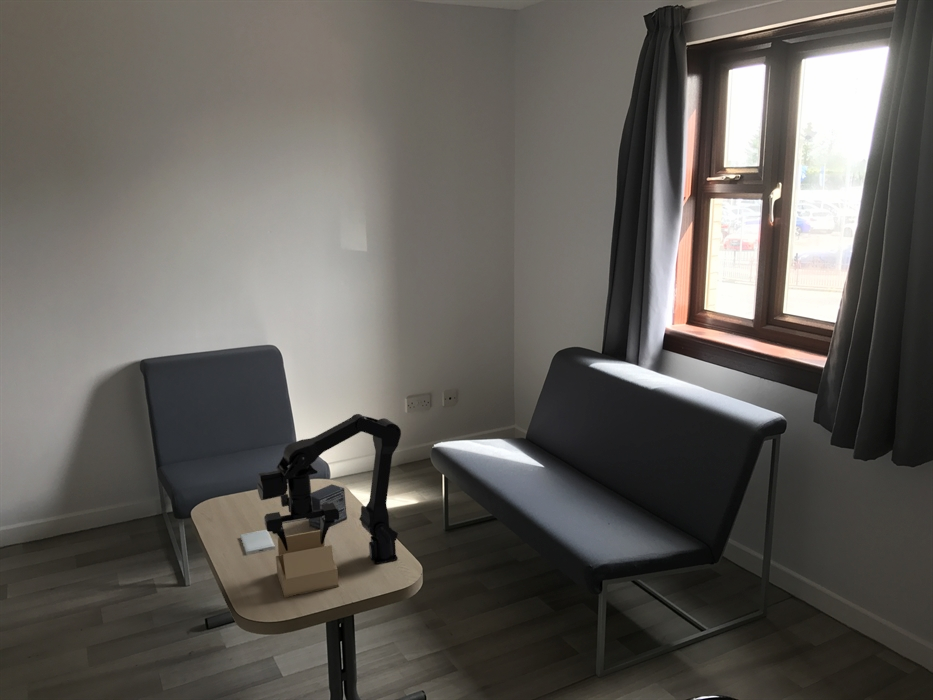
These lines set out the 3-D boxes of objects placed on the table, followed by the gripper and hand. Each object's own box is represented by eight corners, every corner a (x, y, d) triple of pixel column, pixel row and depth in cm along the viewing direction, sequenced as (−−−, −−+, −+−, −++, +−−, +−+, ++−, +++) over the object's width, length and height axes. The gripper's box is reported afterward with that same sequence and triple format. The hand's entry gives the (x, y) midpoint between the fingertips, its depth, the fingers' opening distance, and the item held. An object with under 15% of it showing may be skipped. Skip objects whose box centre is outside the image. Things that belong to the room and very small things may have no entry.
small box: (334, 514, 249) (331, 483, 247) (347, 519, 245) (345, 487, 243) (308, 525, 241) (305, 493, 239) (321, 531, 237) (319, 498, 235)
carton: (328, 563, 217) (327, 546, 216) (338, 586, 204) (337, 568, 203) (277, 573, 212) (275, 556, 211) (284, 597, 199) (282, 579, 198)
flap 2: (285, 578, 198) (286, 579, 198) (282, 554, 199) (283, 554, 199) (334, 569, 202) (334, 569, 202) (331, 545, 203) (331, 545, 203)
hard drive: (240, 534, 234) (246, 551, 223) (267, 529, 237) (275, 545, 226) (240, 539, 234) (246, 556, 223) (268, 534, 238) (275, 550, 226)
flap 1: (324, 546, 215) (324, 545, 216) (324, 530, 212) (324, 529, 212) (278, 555, 211) (278, 554, 211) (277, 538, 208) (277, 537, 208)
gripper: (329, 475, 214) (333, 528, 217) (259, 486, 208) (264, 541, 211) (337, 489, 204) (341, 545, 207) (264, 501, 198) (269, 558, 201)
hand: (304, 546), depth 207 cm, fingers open, 9 cm apart
